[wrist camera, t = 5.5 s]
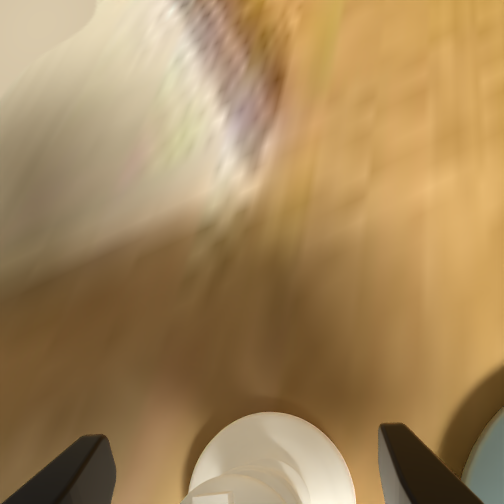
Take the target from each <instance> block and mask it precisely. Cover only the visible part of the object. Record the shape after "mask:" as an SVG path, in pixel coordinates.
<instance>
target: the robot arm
mask: <svg viewBox="0 0 504 504" xmlns="http://www.w3.org/2000/svg"><path fill="white" fill-rule="evenodd" d="M378 463H379V472H380V477H381V483H382V488H383V494H384V499H385V504H484V503H483V502H482V501H481V500H480V499H479V498H478V497H477V496H476V495H475V494H474V493H473V492H472V491H471V490H470V489H469V488H468V487H467V486H466V485H465V484H464V483H463V482H462V481H461V480H460V479H459V478H458V477H457V476H456V475H455V474H454V473H453V472H452V471H451V470H450V469H449V468H448V467H447V466H446V465H445V464H444V463H443V462H442V461H441V460H440V459H439V458H438V457H437V456H436V455H435V454H434V453H433V452H432V451H431V450H430V449H429V448H428V447H427V446H426V445H425V444H424V443H423V442H422V441H421V440H420V439H419V438H418V437H417V436H416V435H415V434H414V433H413V432H412V431H411V430H410V429H409V428H408V427H407V426H406V425H405V424H403V423H382V424H380V426H379V429H378ZM115 482H116V466H115V462H114V459H113V455H112V451H111V447H110V444H109V440H108V438H107V437H106V436H105V435H103V434H95V435H84V436H82V437H80V438H79V439H78V440H77V441H75V442H74V443H73V444H72V445H71V446H69V447H68V448H67V449H66V450H65V451H63V452H62V453H61V454H60V455H59V456H58V457H56V458H55V459H54V460H53V461H52V462H50V463H49V464H48V465H47V466H46V467H44V468H43V469H42V470H41V471H40V472H39V473H37V474H36V475H35V476H34V477H33V478H31V479H30V480H29V481H28V482H27V483H25V484H24V485H23V486H22V487H21V488H19V489H18V490H17V491H16V492H15V493H14V494H12V495H11V496H10V497H9V498H8V499H6V500H5V501H4V502H3V503H2V504H111V500H112V496H113V491H114V487H115Z"/></svg>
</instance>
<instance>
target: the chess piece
mask: <svg viewBox="0 0 504 504" xmlns="http://www.w3.org/2000/svg"><path fill="white" fill-rule="evenodd" d="M180 504H356V497H355V490H354V485H353V481H352V478H351V475H350V472H349V469H348V467H347V465H346V462H345V460H344V459H343V457H342V455H341V453H340V452H339V450H338V449H337V447H336V446H335V445H334V444H333V442H332V441H331V440H330V439H329V438H328V437H327V436H326V435H325V434H324V433H323V432H322V431H321V430H319V429H318V428H317V427H315V426H314V425H312V424H311V423H309V422H307V421H305V420H303V419H301V418H299V417H296V416H293V415H290V414H286V413H280V412H261V413H255V414H251V415H248V416H245V417H242V418H240V419H238V420H236V421H234V422H232V423H231V424H229V425H228V426H226V427H225V428H224V429H222V430H221V431H220V432H219V433H218V434H217V435H216V436H215V437H214V438H213V439H212V440H211V441H210V442H209V444H208V445H207V446H206V448H205V449H204V450H203V452H202V454H201V455H200V457H199V459H198V461H197V463H196V465H195V468H194V471H193V474H192V477H191V481H190V485H189V491H188V494H187V496H186V497H185V498H184V499H183V500H182V501H181V503H180Z"/></svg>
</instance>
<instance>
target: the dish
mask: <svg viewBox="0 0 504 504" xmlns="http://www.w3.org/2000/svg"><path fill="white" fill-rule="evenodd" d="M461 481H462V482H463V483H464V484H465V485H466V486H467V487H468V488H469V489H470V490H471V491H472V492H473V493H474V494H475V495H476V496H477V497H478V498H479V499H480V500H481V501H482V502H483V503H484V504H504V406H503V407H502V408H500V410H499V411H498V412H497V413H496V414H495V415H494V417H493V418H492V419H491V420H490V421H489V422H488V424H487V425H486V426H485V428H484V429H483V431H482V433H481V434H480V436H479V437H478V439H477V441H476V442H475V444H474V445H473V448H472V450H471V452H470V455H469V457H468V459H467V462H466V464H465V466H464V469H463V473H462V476H461Z"/></svg>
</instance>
